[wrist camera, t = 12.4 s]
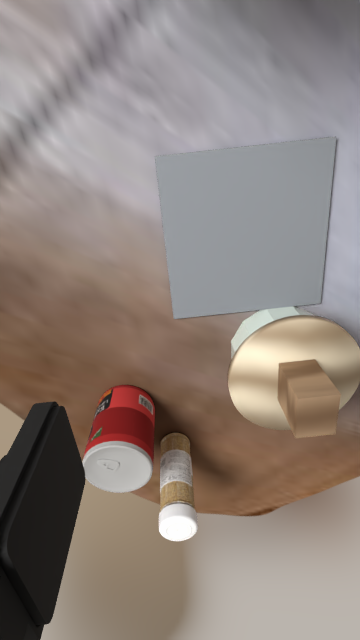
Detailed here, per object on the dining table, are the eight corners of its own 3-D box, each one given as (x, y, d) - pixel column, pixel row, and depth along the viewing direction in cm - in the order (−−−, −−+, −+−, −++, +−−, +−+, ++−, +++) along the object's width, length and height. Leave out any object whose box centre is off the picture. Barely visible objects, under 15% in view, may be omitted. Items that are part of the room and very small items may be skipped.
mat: (154, 156, 34) (154, 156, 33) (333, 136, 34) (336, 136, 33) (173, 316, 42) (173, 319, 41) (318, 301, 42) (320, 303, 41)
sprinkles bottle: (179, 456, 53) (184, 547, 41) (154, 446, 51) (151, 535, 39) (196, 438, 51) (205, 526, 39) (170, 426, 50) (172, 513, 38)
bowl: (229, 311, 42) (239, 334, 36) (326, 300, 42) (350, 322, 36) (232, 388, 47) (241, 418, 42) (318, 379, 47) (338, 408, 42)
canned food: (101, 379, 46) (83, 441, 36) (159, 387, 47) (158, 449, 37) (96, 422, 49) (78, 490, 39) (150, 428, 50) (147, 496, 40)
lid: (224, 322, 36) (238, 360, 29) (366, 307, 36) (410, 341, 29) (229, 428, 42) (241, 478, 36) (348, 416, 42) (382, 463, 36)
